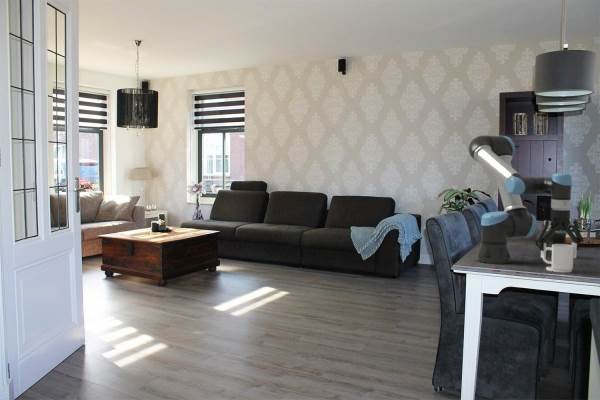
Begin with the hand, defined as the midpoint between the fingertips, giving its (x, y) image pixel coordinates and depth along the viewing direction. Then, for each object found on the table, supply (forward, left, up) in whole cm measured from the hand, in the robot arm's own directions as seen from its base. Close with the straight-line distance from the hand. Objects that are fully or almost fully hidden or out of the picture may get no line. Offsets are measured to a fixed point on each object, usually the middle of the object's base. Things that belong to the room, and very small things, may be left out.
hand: (558, 257), depth 221 cm
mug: (+16, +36, -6) cm, 39 cm away
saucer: (0, 0, -5) cm, 5 cm away
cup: (0, 0, -5) cm, 5 cm away
